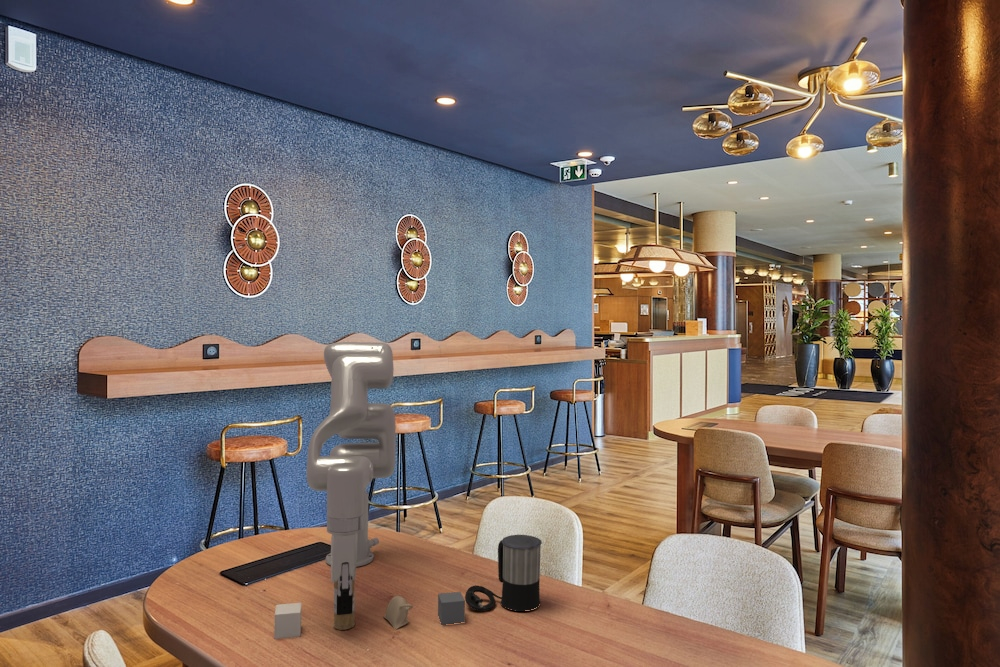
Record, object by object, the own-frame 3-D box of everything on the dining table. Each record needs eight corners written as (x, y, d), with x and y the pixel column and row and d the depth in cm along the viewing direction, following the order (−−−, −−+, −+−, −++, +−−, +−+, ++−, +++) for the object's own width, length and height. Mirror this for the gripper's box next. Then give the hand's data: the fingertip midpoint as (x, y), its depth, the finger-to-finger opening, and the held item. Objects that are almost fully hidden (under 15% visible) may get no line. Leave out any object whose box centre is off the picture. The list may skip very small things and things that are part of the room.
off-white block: (276, 628, 140) (276, 604, 140) (301, 626, 141) (301, 602, 141) (274, 639, 135) (274, 614, 135) (300, 636, 136) (300, 612, 136)
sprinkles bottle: (358, 627, 141) (359, 564, 140) (337, 632, 138) (338, 568, 138) (350, 619, 144) (351, 557, 144) (329, 624, 142) (330, 561, 142)
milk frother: (549, 605, 153) (550, 540, 153) (501, 626, 142) (502, 557, 142) (504, 587, 163) (505, 527, 163) (456, 606, 152) (457, 541, 152)
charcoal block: (437, 616, 147) (438, 593, 147) (460, 614, 148) (460, 591, 148) (441, 626, 142) (441, 602, 142) (464, 623, 143) (464, 600, 143)
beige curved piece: (400, 613, 148) (401, 589, 148) (415, 628, 141) (415, 603, 141) (383, 617, 146) (383, 592, 146) (396, 632, 139) (397, 607, 139)
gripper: (327, 512, 148) (326, 594, 148) (326, 536, 132) (325, 628, 132) (361, 510, 150) (360, 591, 150) (365, 534, 134) (364, 624, 134)
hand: (344, 607), depth 141 cm, fingers closed on sprinkles bottle, 4 cm apart
